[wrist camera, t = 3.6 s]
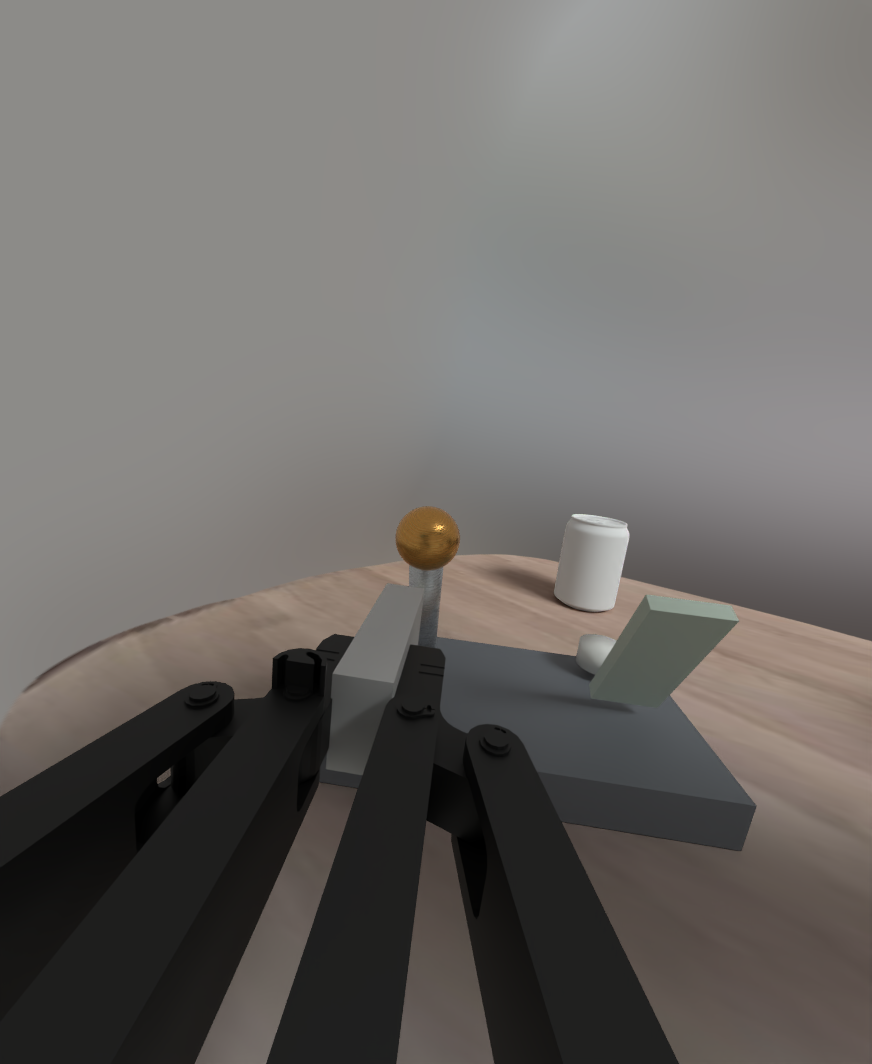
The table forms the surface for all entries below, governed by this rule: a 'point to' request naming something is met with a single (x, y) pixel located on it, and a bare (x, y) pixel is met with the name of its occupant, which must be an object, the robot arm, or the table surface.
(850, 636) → the table surface
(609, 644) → the white push button
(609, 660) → the sage paddle
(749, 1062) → the table surface
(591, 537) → the beverage can
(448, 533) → the steel toggle lever
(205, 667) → the table surface
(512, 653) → the switch panel
